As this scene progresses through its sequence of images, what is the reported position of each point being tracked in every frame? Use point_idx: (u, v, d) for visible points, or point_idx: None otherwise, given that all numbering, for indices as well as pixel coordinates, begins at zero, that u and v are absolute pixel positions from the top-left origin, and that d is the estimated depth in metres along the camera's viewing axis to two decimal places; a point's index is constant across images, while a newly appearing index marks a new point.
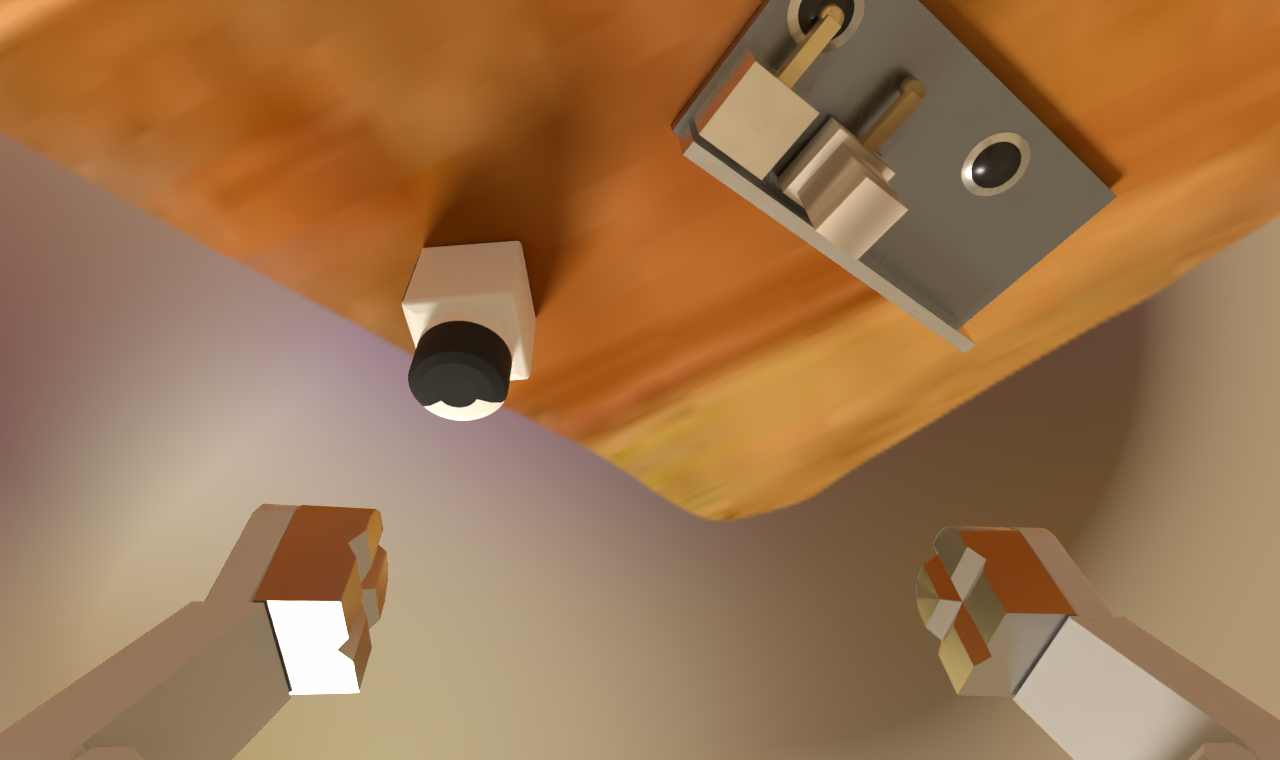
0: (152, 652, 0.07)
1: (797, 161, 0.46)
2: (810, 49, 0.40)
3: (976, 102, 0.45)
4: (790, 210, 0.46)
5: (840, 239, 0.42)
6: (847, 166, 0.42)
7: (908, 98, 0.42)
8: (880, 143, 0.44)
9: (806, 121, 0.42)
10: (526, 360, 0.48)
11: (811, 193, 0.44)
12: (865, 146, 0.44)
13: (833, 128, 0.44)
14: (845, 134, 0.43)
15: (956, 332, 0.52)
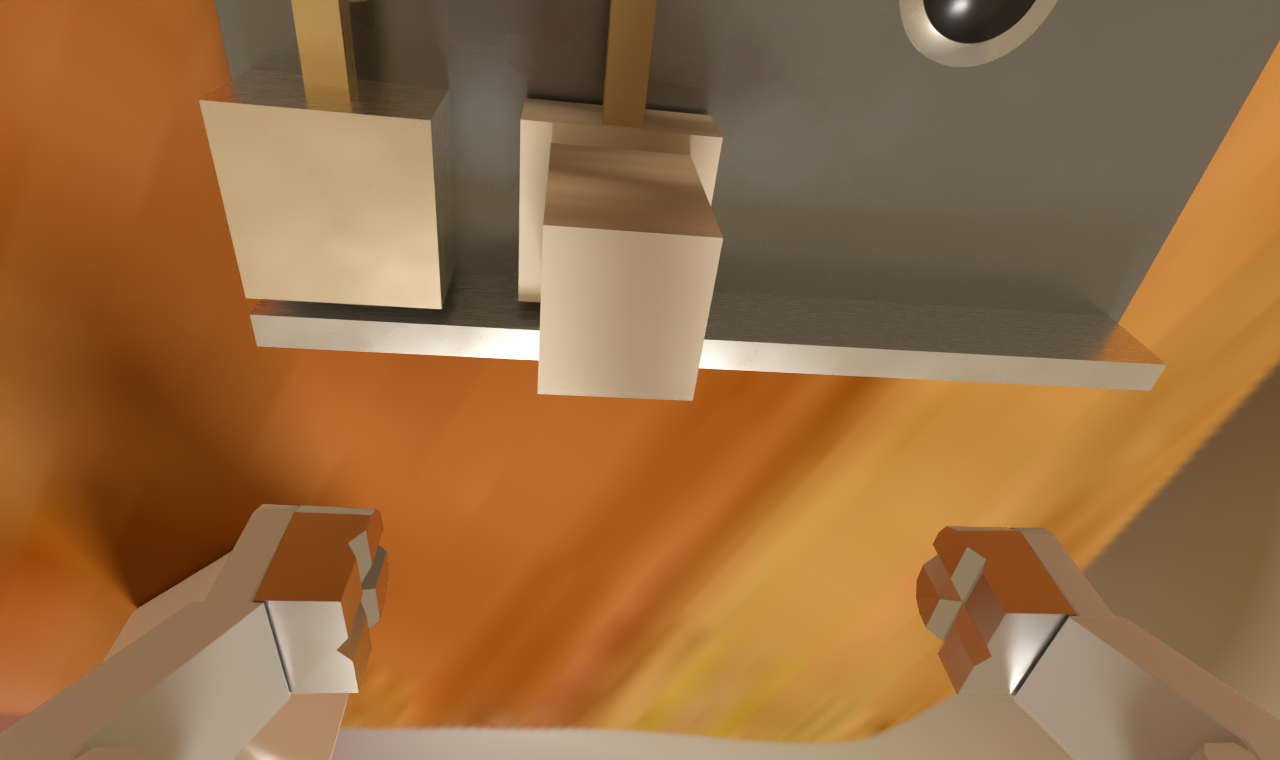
0: (152, 652, 0.07)
1: None
2: None
3: None
4: None
5: (611, 381, 0.16)
6: None
7: None
8: (640, 95, 0.17)
9: (420, 153, 0.17)
10: None
11: None
12: (611, 121, 0.18)
13: None
14: (542, 124, 0.17)
15: (1102, 363, 0.22)
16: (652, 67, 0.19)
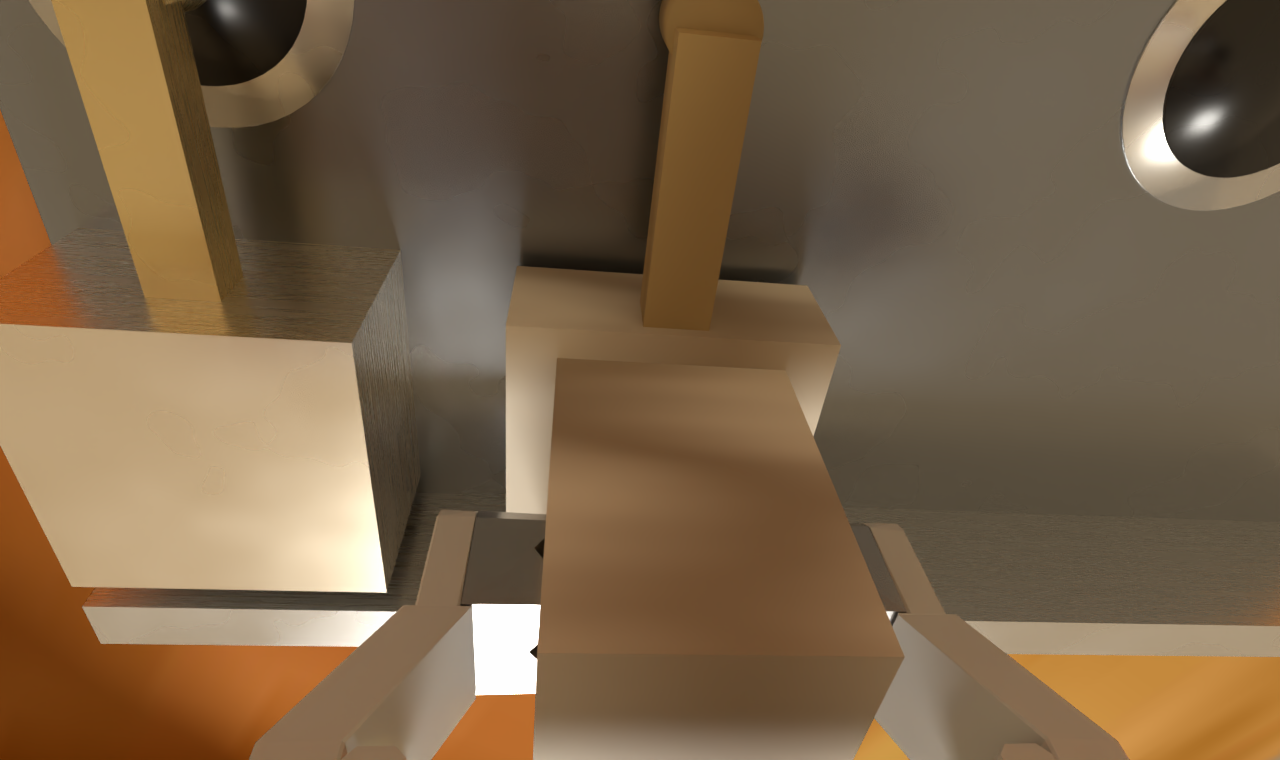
0: (383, 654, 0.07)
1: None
2: (134, 142, 0.09)
3: None
4: None
5: None
6: None
7: (684, 72, 0.09)
8: (706, 283, 0.10)
9: (337, 390, 0.10)
10: None
11: None
12: (658, 322, 0.11)
13: None
14: (543, 332, 0.10)
15: None
16: None
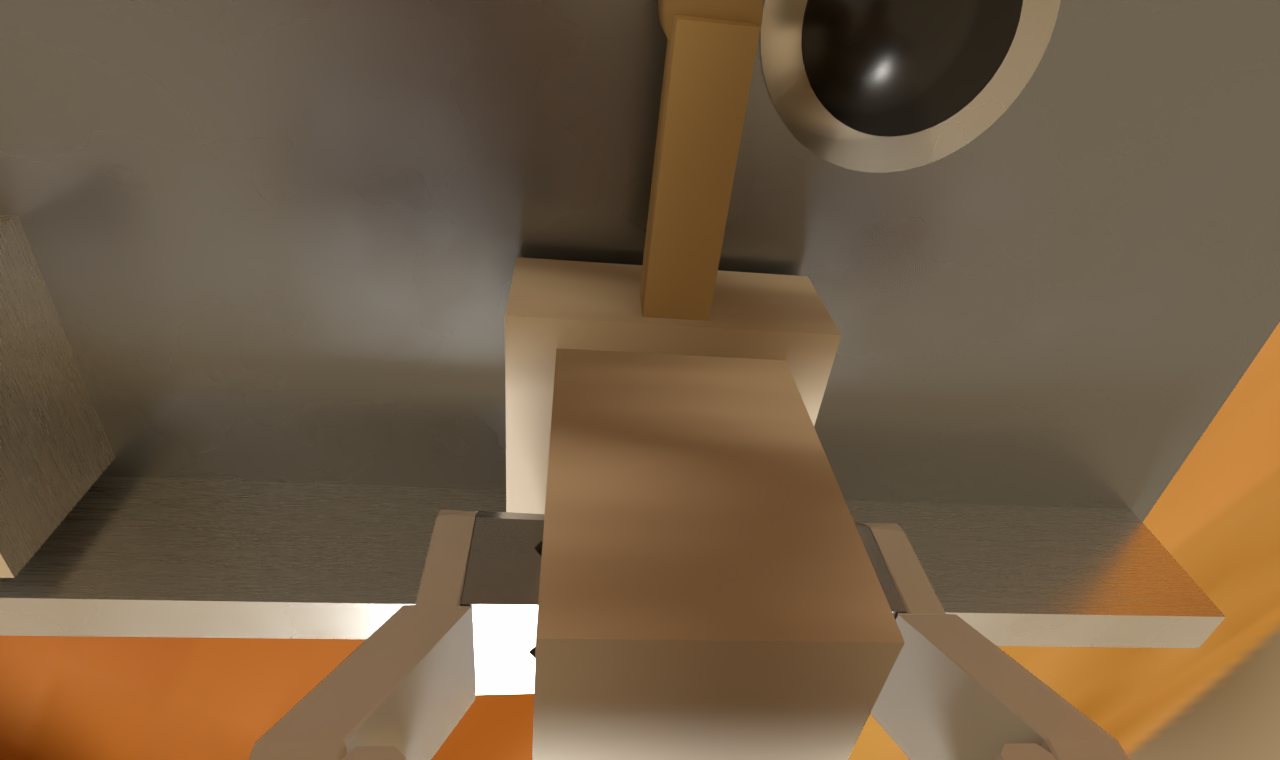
0: (383, 654, 0.07)
1: None
2: None
3: None
4: (219, 593, 0.12)
5: None
6: None
7: (683, 59, 0.09)
8: (706, 273, 0.10)
9: None
10: None
11: None
12: (657, 312, 0.11)
13: None
14: (542, 322, 0.10)
15: (1124, 617, 0.14)
16: (355, 180, 0.11)
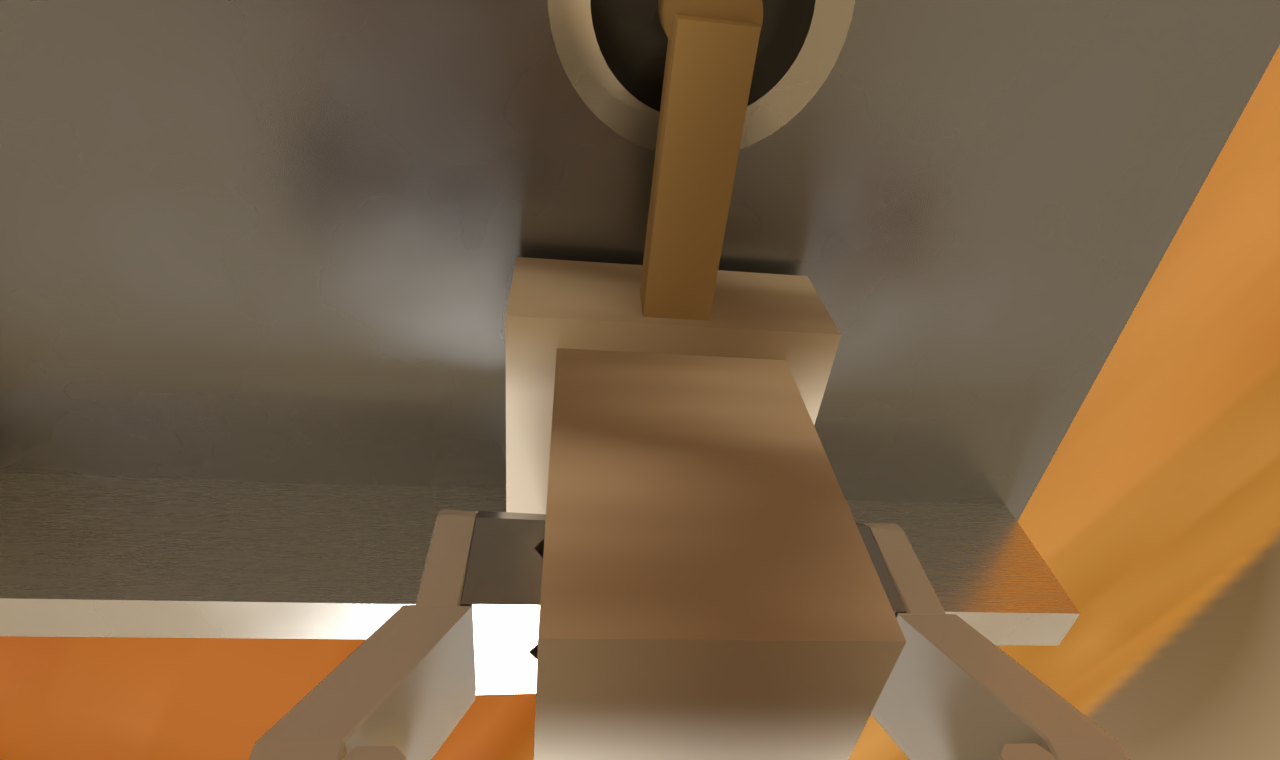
0: (383, 654, 0.07)
1: None
2: None
3: None
4: (25, 590, 0.12)
5: None
6: None
7: (684, 60, 0.09)
8: (706, 273, 0.10)
9: None
10: None
11: None
12: (657, 312, 0.11)
13: None
14: (543, 322, 0.10)
15: (975, 614, 0.14)
16: (147, 164, 0.11)
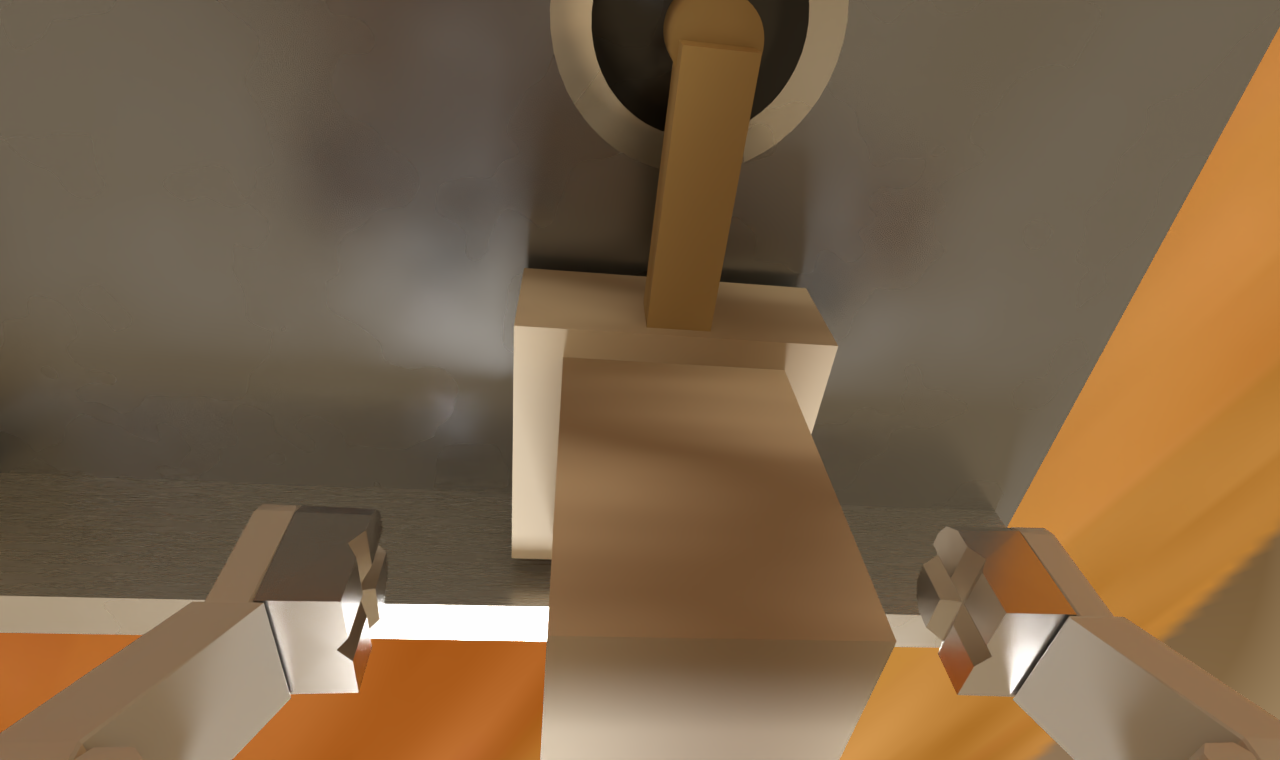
0: (152, 652, 0.07)
1: None
2: None
3: None
4: (38, 588, 0.12)
5: None
6: None
7: (688, 83, 0.09)
8: (708, 286, 0.11)
9: None
10: None
11: None
12: (661, 323, 0.11)
13: None
14: (550, 332, 0.11)
15: None
16: (162, 176, 0.11)
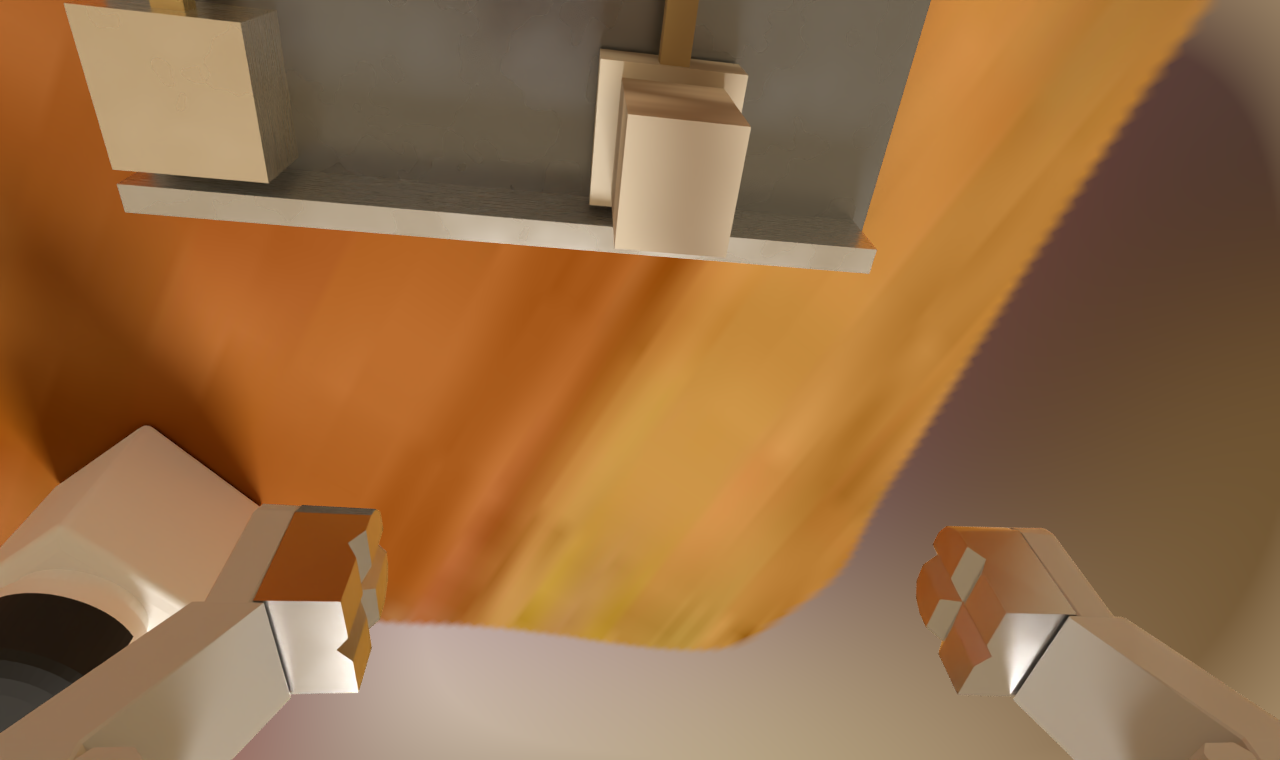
0: (152, 652, 0.07)
1: None
2: None
3: None
4: (361, 203, 0.25)
5: (668, 239, 0.22)
6: (622, 112, 0.22)
7: None
8: (688, 42, 0.24)
9: (235, 49, 0.22)
10: (178, 595, 0.32)
11: (614, 185, 0.24)
12: (666, 62, 0.24)
13: (599, 65, 0.24)
14: (616, 63, 0.24)
15: (822, 247, 0.27)
16: None
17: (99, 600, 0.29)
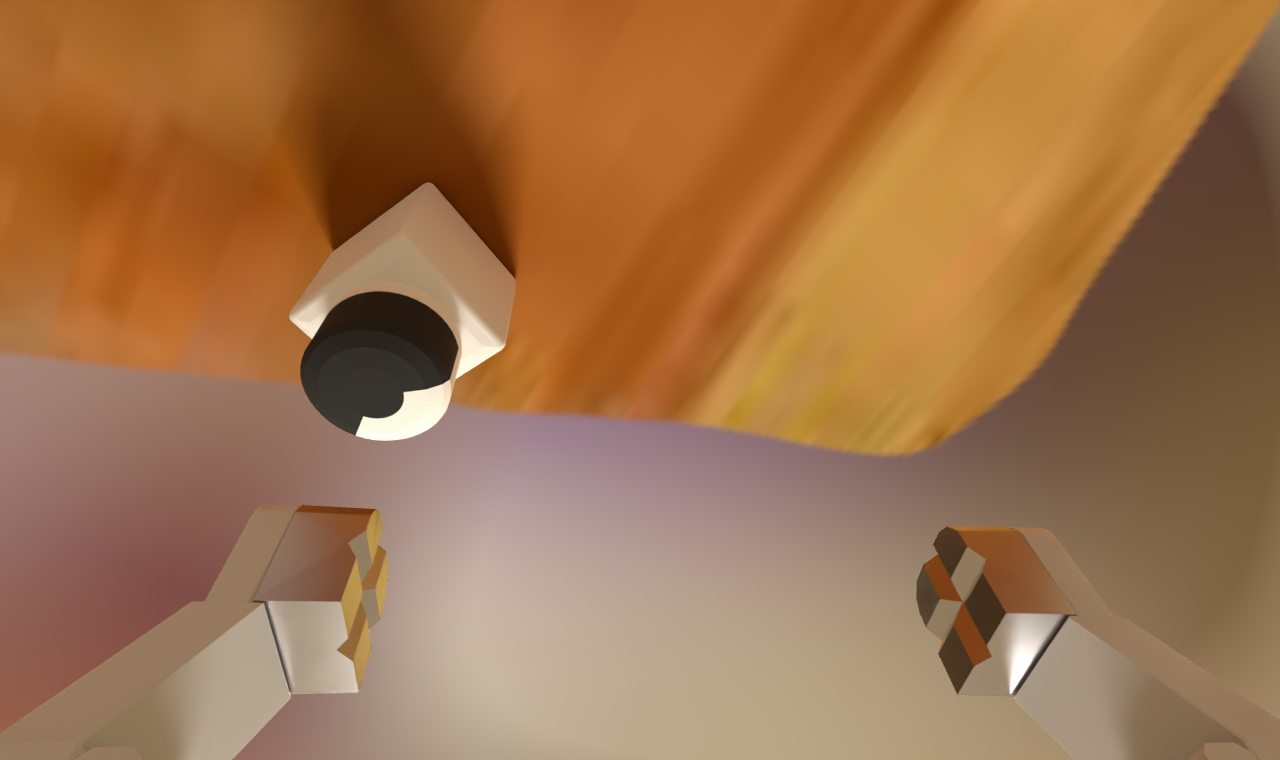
0: (152, 652, 0.07)
1: None
2: None
3: None
4: None
5: None
6: None
7: None
8: None
9: None
10: (485, 321, 0.33)
11: None
12: None
13: None
14: None
15: None
16: None
17: (434, 306, 0.31)
